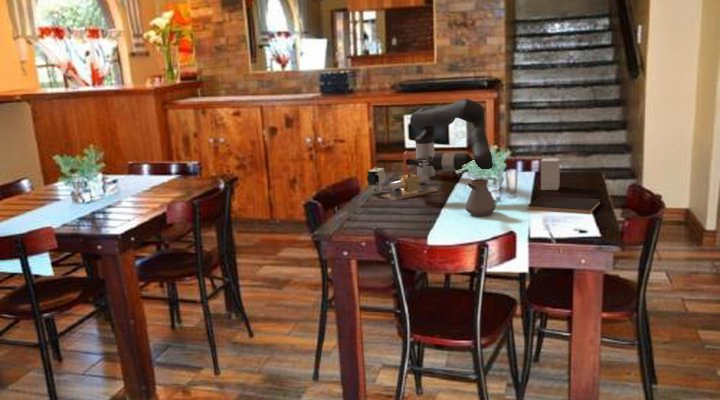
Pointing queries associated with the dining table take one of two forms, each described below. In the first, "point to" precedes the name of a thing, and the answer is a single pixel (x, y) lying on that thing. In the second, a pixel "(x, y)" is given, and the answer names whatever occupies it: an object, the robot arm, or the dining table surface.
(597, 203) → the hardcover book
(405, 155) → the lever
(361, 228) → the dining table surface
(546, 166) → the supplement box
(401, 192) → the valve body
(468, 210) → the coffee pot
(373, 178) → the pneumatic valve
